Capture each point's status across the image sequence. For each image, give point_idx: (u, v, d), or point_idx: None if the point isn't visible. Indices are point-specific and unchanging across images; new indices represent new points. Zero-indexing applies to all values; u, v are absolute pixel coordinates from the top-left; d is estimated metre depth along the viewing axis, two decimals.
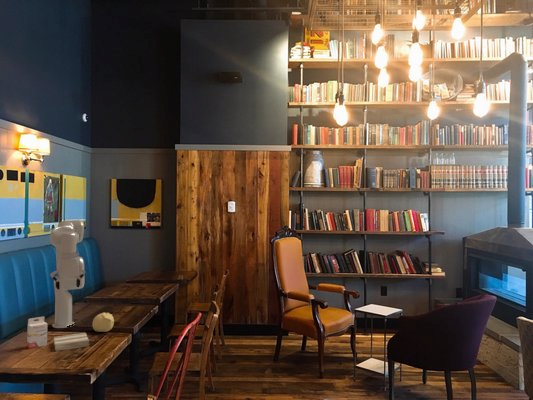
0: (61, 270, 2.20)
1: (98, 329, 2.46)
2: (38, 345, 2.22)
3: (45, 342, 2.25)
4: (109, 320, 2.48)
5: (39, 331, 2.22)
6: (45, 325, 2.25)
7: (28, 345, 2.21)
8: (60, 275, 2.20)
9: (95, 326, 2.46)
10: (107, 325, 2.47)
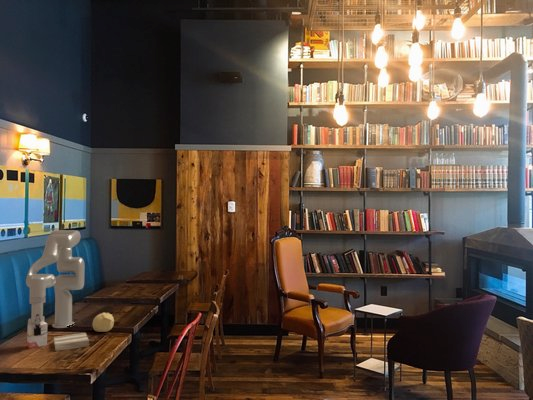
0: (42, 314, 2.22)
1: (98, 329, 2.46)
2: (38, 345, 2.22)
3: (45, 342, 2.25)
4: (109, 320, 2.48)
5: None
6: (45, 325, 2.25)
7: (28, 345, 2.21)
8: (41, 319, 2.21)
9: (95, 326, 2.46)
10: (107, 325, 2.47)
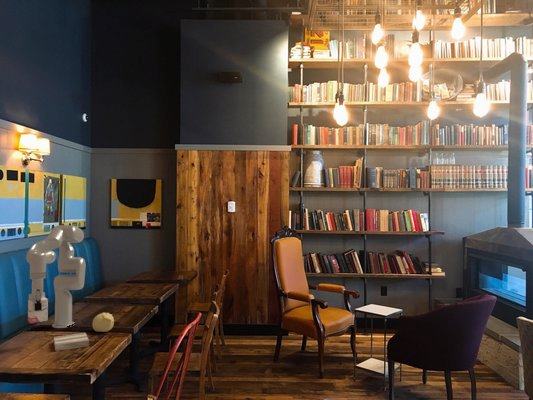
0: (42, 289, 2.22)
1: (98, 329, 2.46)
2: (39, 320, 2.23)
3: (46, 317, 2.25)
4: (109, 320, 2.48)
5: None
6: (46, 300, 2.25)
7: (29, 320, 2.22)
8: (42, 294, 2.22)
9: (95, 326, 2.46)
10: (107, 325, 2.47)
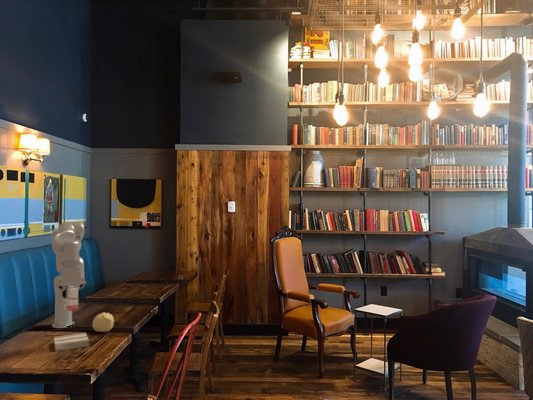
0: None
1: (98, 329, 2.46)
2: None
3: None
4: (109, 320, 2.48)
5: None
6: None
7: (74, 308, 2.24)
8: None
9: (95, 326, 2.46)
10: (107, 325, 2.47)
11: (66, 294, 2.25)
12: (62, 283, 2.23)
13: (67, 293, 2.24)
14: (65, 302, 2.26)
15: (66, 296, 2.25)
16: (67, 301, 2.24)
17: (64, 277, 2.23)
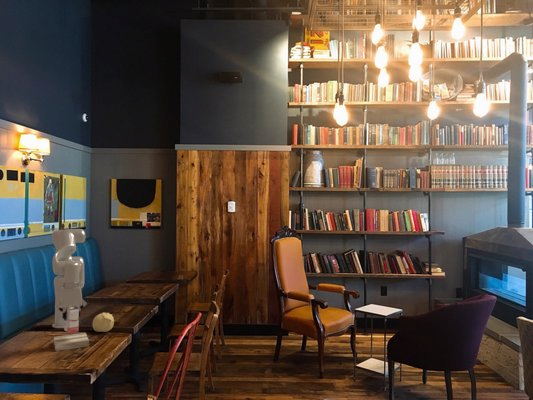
0: None
1: (98, 329, 2.46)
2: None
3: None
4: (109, 320, 2.48)
5: None
6: None
7: (74, 330, 2.24)
8: None
9: (95, 326, 2.46)
10: (107, 325, 2.47)
11: (66, 316, 2.25)
12: (62, 305, 2.22)
13: (67, 315, 2.24)
14: (65, 323, 2.26)
15: (66, 318, 2.25)
16: (67, 323, 2.24)
17: (65, 299, 2.23)
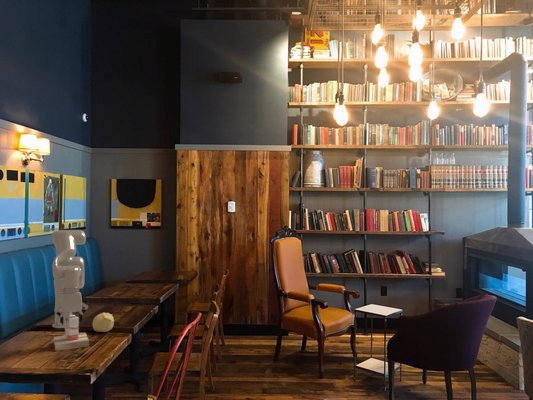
0: None
1: (98, 329, 2.46)
2: None
3: None
4: (109, 320, 2.48)
5: None
6: None
7: (74, 337, 2.24)
8: None
9: (95, 326, 2.46)
10: (107, 325, 2.47)
11: (67, 323, 2.25)
12: (62, 310, 2.22)
13: (67, 323, 2.24)
14: (66, 331, 2.26)
15: (67, 325, 2.25)
16: (67, 331, 2.24)
17: (64, 304, 2.23)
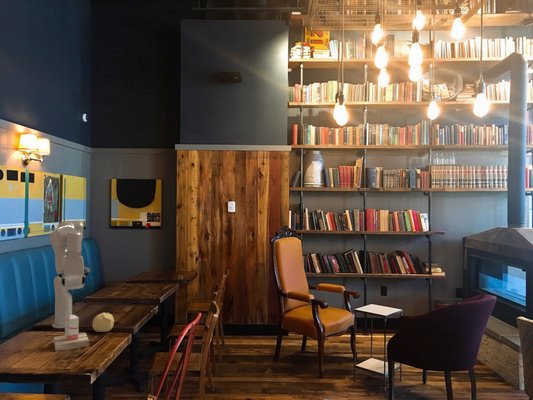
0: None
1: (98, 329, 2.46)
2: None
3: None
4: (109, 320, 2.48)
5: None
6: None
7: (74, 337, 2.24)
8: None
9: (95, 326, 2.46)
10: (107, 325, 2.47)
11: (67, 323, 2.25)
12: (65, 273, 2.29)
13: (67, 323, 2.24)
14: (66, 331, 2.26)
15: (67, 325, 2.25)
16: (67, 331, 2.24)
17: (67, 267, 2.30)
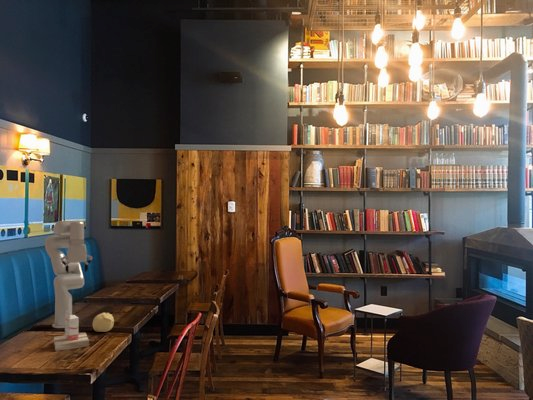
0: None
1: (98, 329, 2.46)
2: None
3: None
4: (109, 320, 2.48)
5: None
6: None
7: (74, 337, 2.24)
8: None
9: (95, 326, 2.46)
10: (107, 325, 2.47)
11: (67, 323, 2.25)
12: (68, 260, 2.40)
13: (67, 323, 2.24)
14: (66, 331, 2.26)
15: (67, 325, 2.25)
16: (67, 331, 2.24)
17: (70, 255, 2.40)
